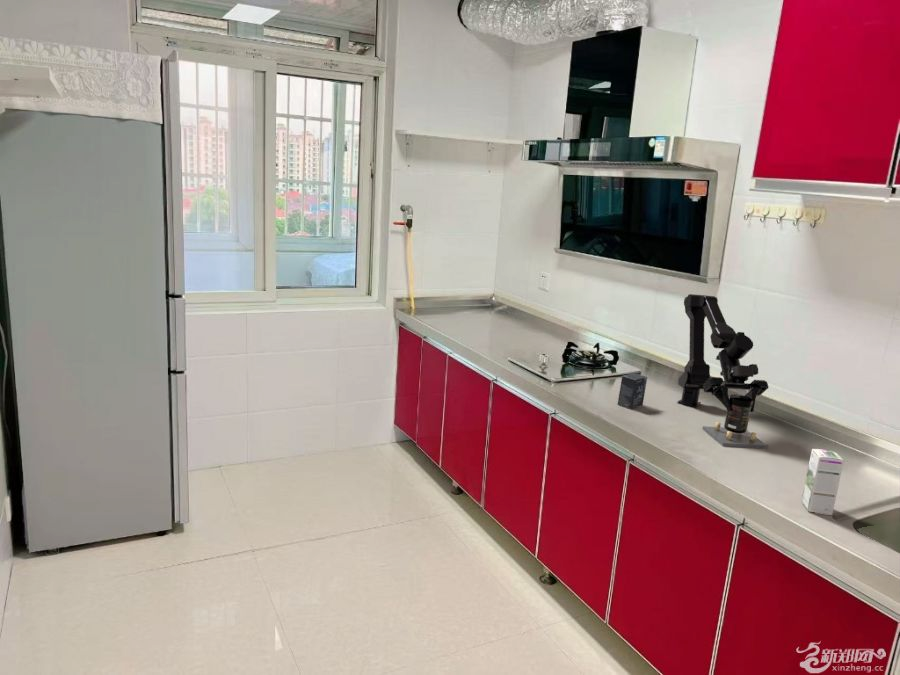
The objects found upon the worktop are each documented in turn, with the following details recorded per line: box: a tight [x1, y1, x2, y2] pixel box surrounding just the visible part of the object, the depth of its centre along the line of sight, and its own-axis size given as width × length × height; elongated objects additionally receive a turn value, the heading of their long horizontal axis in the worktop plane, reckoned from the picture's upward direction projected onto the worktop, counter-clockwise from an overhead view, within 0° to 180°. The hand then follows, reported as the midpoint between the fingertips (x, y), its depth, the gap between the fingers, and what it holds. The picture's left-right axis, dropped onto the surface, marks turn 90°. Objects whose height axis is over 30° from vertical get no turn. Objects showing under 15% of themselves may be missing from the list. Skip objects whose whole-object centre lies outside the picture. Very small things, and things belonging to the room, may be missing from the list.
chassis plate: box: [702, 421, 768, 449], centre depth 214 cm, size 14×14×4 cm
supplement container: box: [723, 394, 753, 433], centre depth 213 cm, size 7×7×10 cm
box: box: [617, 372, 648, 410], centre depth 238 cm, size 8×6×11 cm
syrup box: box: [801, 448, 844, 516], centre depth 168 cm, size 6×6×14 cm
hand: (741, 411), depth 211 cm, fingers closed on supplement container, 7 cm apart
